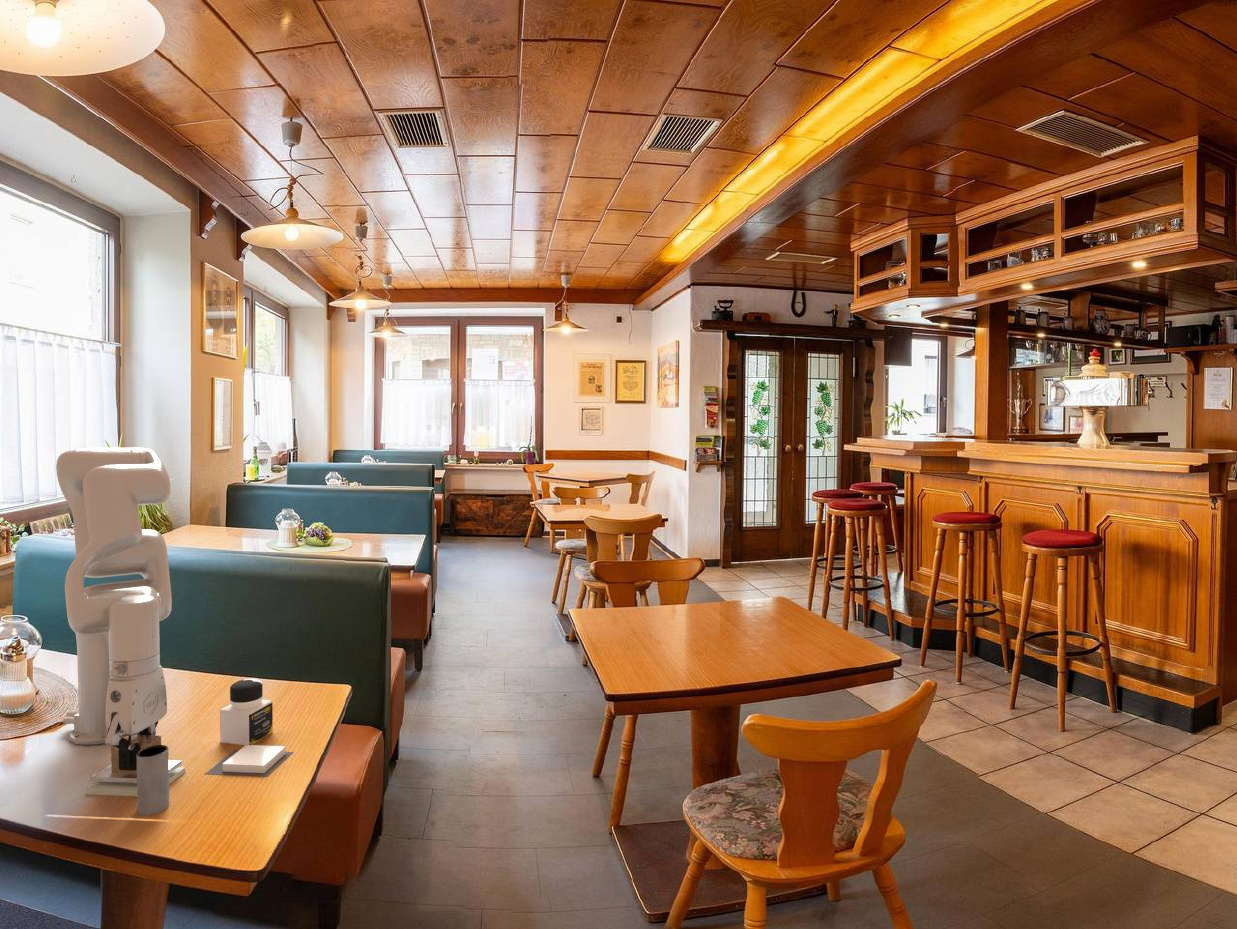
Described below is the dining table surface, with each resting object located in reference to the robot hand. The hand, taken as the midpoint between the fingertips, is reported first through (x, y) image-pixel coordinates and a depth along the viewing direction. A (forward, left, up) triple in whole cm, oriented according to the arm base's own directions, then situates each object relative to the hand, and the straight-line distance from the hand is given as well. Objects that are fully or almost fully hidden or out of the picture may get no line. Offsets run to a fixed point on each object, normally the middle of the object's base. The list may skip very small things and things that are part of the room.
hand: (136, 763), depth 130 cm
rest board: (0, 0, -4) cm, 4 cm away
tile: (+13, +9, -3) cm, 16 cm away
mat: (+16, +9, -4) cm, 19 cm away
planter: (+9, -8, -4) cm, 12 cm away
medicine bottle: (+9, +20, -4) cm, 22 cm away
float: (0, 0, -2) cm, 2 cm away
